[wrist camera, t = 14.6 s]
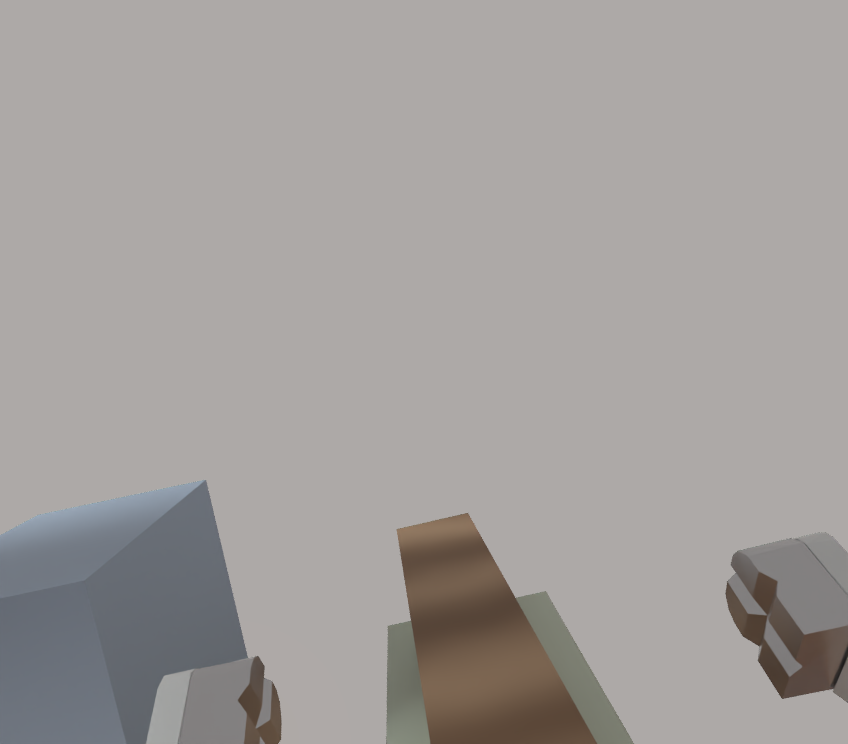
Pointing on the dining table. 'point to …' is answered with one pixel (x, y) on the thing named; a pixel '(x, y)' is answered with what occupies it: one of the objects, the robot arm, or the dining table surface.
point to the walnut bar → (479, 646)
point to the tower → (109, 614)
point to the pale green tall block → (403, 678)
